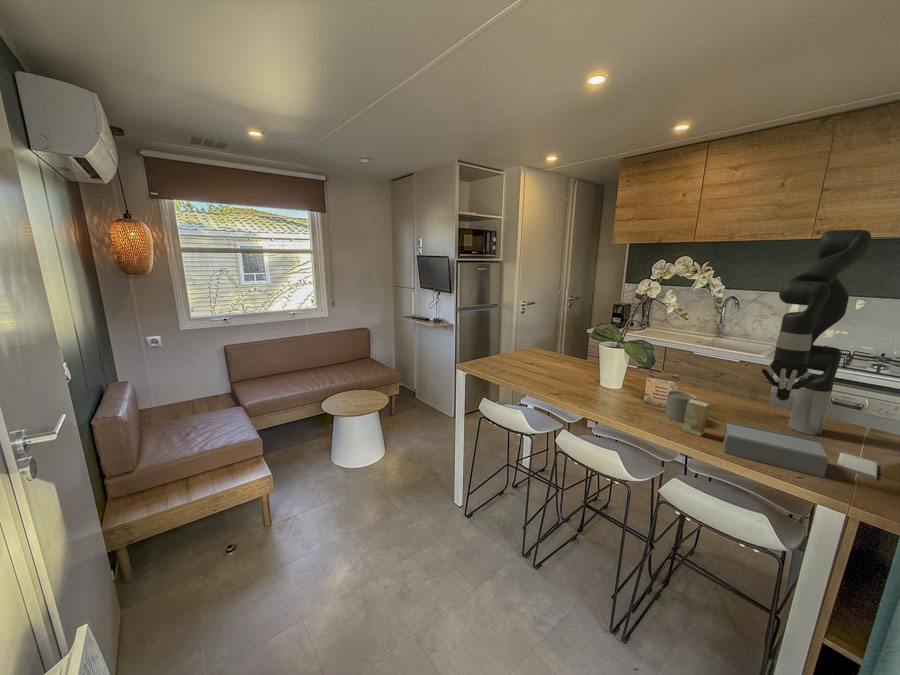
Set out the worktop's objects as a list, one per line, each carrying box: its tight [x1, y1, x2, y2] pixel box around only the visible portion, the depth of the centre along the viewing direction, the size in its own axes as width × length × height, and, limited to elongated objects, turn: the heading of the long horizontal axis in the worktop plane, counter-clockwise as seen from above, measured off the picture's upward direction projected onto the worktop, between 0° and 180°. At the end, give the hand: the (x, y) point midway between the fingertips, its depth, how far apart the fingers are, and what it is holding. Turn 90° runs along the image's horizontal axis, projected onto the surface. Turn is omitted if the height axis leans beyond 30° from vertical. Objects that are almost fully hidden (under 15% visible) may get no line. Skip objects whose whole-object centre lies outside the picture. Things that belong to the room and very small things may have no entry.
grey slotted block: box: [722, 424, 829, 478], centre depth 117 cm, size 12×24×6 cm, turn 54°
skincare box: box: [681, 399, 711, 437], centre depth 133 cm, size 6×4×12 cm
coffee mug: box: [664, 390, 697, 423], centre depth 148 cm, size 13×10×10 cm
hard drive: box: [836, 452, 878, 480], centre depth 112 cm, size 2×8×12 cm
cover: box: [725, 421, 829, 460], centre depth 117 cm, size 12×24×1 cm, turn 54°
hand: (781, 399), depth 112 cm, fingers closed
